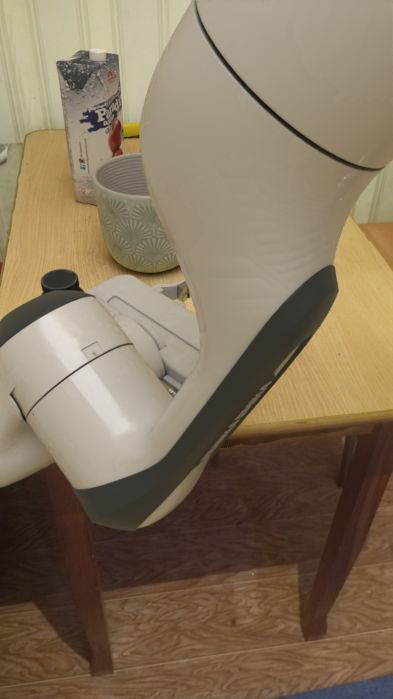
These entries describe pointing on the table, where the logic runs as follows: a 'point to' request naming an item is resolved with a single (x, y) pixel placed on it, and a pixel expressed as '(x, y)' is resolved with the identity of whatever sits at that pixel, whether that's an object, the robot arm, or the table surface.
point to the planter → (130, 216)
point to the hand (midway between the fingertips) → (219, 304)
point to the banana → (131, 129)
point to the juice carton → (91, 114)
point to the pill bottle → (60, 281)
